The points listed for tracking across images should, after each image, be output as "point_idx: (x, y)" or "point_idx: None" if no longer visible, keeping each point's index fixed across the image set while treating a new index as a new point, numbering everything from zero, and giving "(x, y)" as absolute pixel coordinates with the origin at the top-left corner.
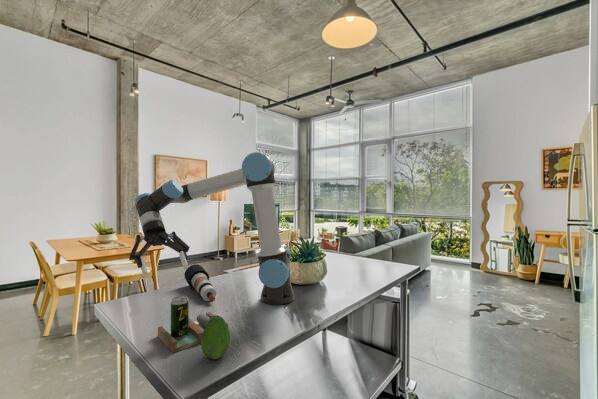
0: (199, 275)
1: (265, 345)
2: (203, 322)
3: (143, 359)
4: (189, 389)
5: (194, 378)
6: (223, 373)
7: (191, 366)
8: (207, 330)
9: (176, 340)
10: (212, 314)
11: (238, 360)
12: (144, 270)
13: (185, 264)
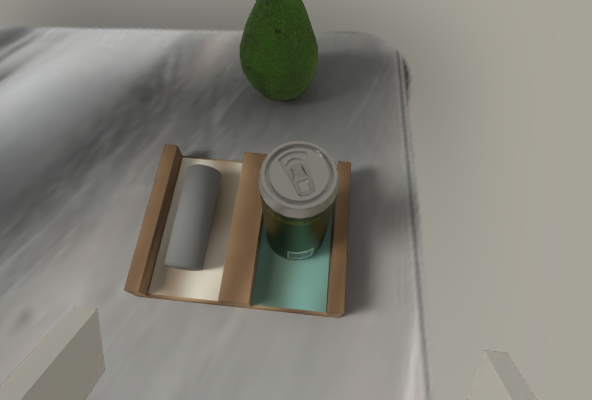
0: None
1: (168, 46)
2: (211, 208)
3: (416, 206)
4: (376, 43)
5: (354, 61)
6: None
7: (339, 97)
8: (309, 21)
9: None
10: (136, 253)
11: None
12: (516, 369)
13: (91, 322)
